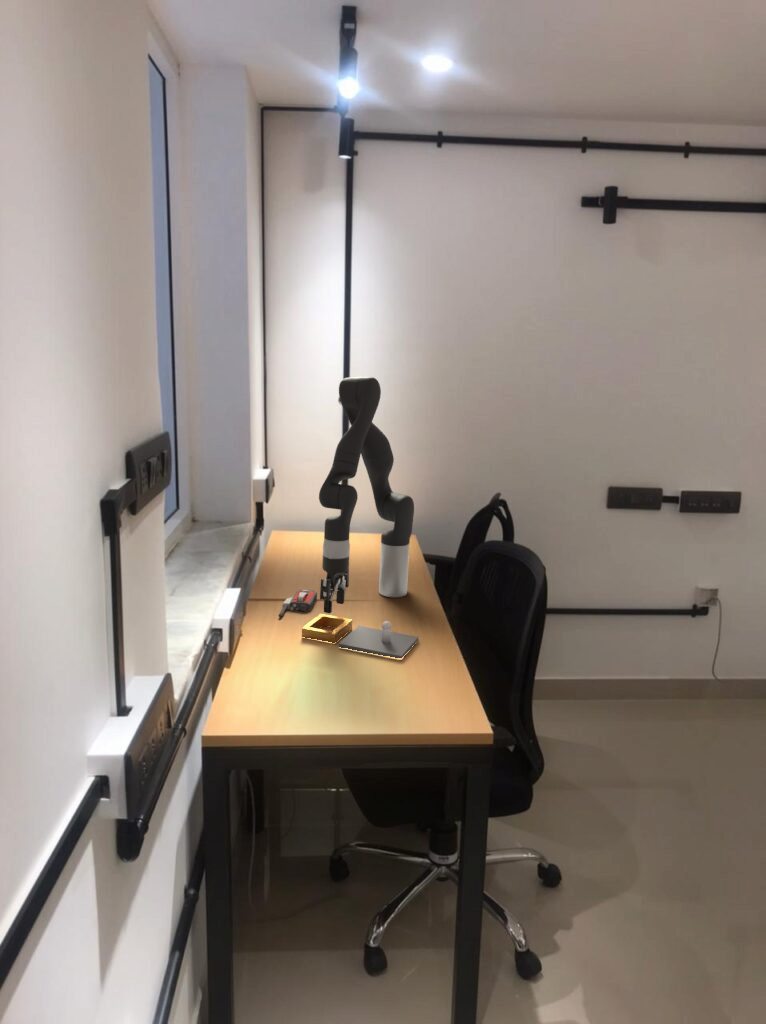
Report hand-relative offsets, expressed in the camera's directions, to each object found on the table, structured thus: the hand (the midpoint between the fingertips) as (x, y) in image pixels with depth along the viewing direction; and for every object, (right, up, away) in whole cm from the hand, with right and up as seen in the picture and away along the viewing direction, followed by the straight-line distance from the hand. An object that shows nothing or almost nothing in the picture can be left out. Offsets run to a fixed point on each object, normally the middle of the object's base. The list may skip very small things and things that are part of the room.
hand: (334, 608), depth 219 cm
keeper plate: (+13, -9, -10) cm, 18 cm away
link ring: (-2, -7, -3) cm, 8 cm away
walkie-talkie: (-12, -2, +16) cm, 20 cm away
